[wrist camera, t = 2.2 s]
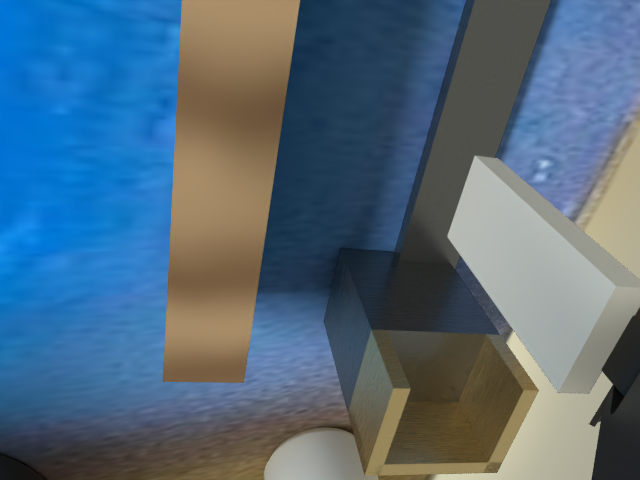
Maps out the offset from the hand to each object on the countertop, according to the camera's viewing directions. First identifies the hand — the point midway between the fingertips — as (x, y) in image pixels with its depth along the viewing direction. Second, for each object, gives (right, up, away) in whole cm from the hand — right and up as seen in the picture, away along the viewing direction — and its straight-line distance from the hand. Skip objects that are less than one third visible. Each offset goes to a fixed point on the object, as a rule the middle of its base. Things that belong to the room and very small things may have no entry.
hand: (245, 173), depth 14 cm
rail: (-3, +7, +12) cm, 15 cm away
